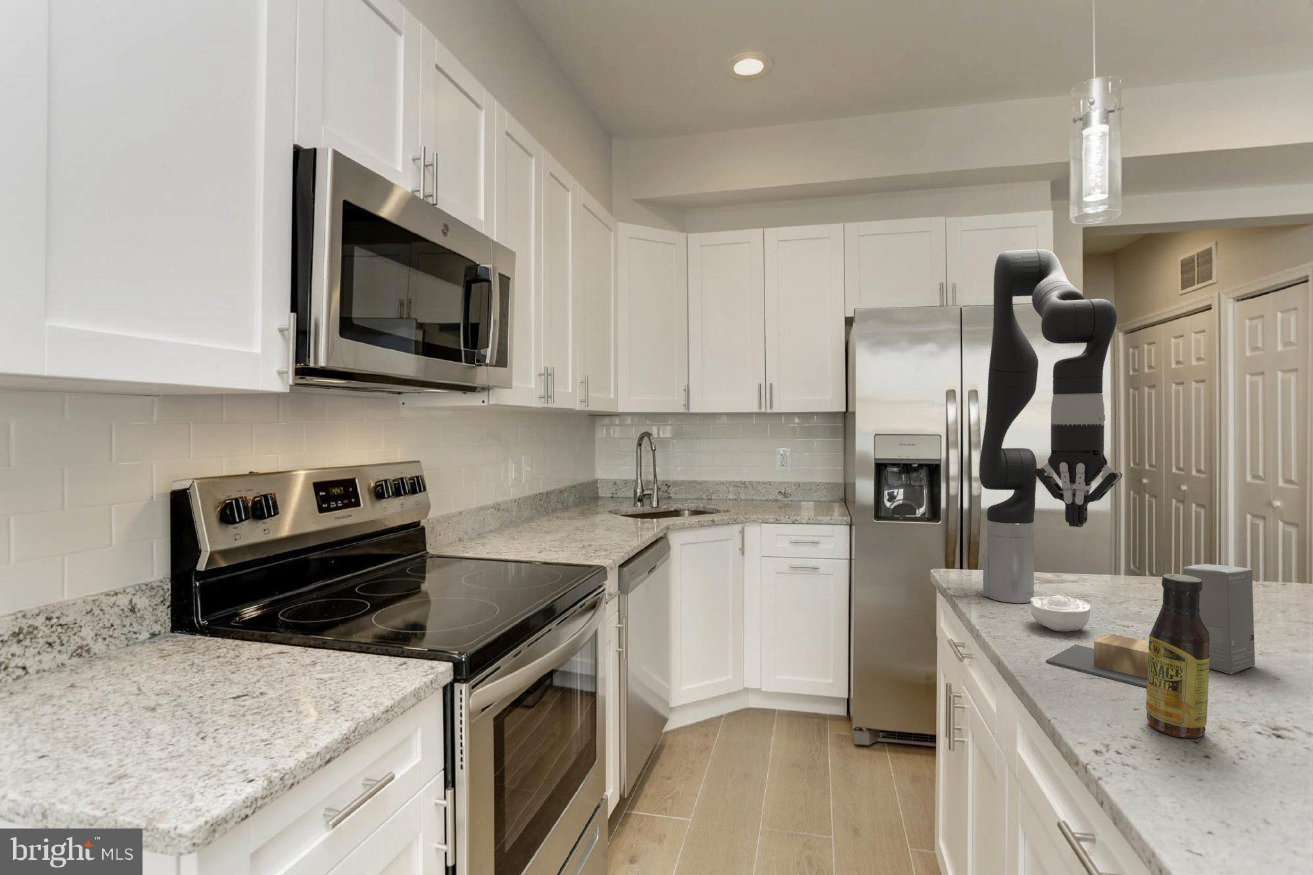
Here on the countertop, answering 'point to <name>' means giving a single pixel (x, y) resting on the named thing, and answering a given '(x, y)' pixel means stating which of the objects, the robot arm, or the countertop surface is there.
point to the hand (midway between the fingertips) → (1076, 526)
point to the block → (1122, 654)
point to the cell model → (1060, 612)
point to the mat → (1091, 665)
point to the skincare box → (1227, 614)
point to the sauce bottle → (1178, 661)
